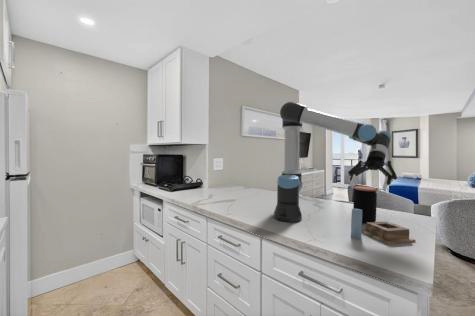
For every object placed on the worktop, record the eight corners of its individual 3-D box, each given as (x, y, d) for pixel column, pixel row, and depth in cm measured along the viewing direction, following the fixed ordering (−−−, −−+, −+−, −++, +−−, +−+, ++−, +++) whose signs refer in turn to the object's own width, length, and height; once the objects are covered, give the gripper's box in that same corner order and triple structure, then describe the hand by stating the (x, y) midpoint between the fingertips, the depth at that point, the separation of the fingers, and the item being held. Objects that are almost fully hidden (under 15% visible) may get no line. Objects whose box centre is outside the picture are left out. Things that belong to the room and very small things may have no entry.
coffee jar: (372, 219, 123) (373, 186, 122) (378, 225, 112) (380, 189, 112) (351, 217, 125) (352, 185, 125) (355, 223, 115) (356, 188, 115)
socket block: (360, 232, 102) (361, 221, 102) (385, 230, 105) (385, 220, 105) (387, 244, 88) (388, 232, 88) (415, 241, 91) (415, 230, 91)
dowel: (348, 235, 97) (349, 208, 96) (356, 235, 98) (357, 208, 97) (355, 239, 93) (356, 211, 93) (363, 238, 94) (364, 210, 94)
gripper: (408, 160, 105) (401, 196, 95) (352, 159, 123) (341, 189, 113) (406, 149, 101) (398, 185, 91) (349, 150, 119) (337, 180, 109)
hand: (367, 187), depth 102 cm, fingers open, 13 cm apart
